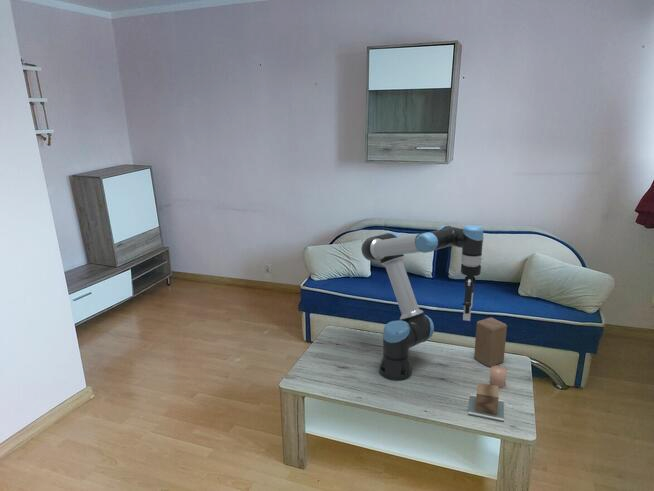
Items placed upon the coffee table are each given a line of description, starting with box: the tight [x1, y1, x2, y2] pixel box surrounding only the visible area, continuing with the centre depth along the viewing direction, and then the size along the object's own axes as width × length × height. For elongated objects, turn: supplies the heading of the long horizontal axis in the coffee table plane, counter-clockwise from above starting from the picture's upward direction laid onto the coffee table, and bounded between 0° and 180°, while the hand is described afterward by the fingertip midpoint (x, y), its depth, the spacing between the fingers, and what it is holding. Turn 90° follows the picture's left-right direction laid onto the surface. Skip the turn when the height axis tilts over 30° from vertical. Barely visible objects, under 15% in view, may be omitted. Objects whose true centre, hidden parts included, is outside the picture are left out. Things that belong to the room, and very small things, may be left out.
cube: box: [475, 382, 500, 415], centre depth 173 cm, size 8×8×8 cm
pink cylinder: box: [489, 365, 507, 389], centre depth 190 cm, size 6×6×7 cm
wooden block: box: [473, 317, 508, 368], centre depth 206 cm, size 10×10×20 cm
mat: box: [467, 394, 505, 423], centre depth 174 cm, size 13×13×1 cm
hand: (467, 313), depth 179 cm, fingers open, 13 cm apart
